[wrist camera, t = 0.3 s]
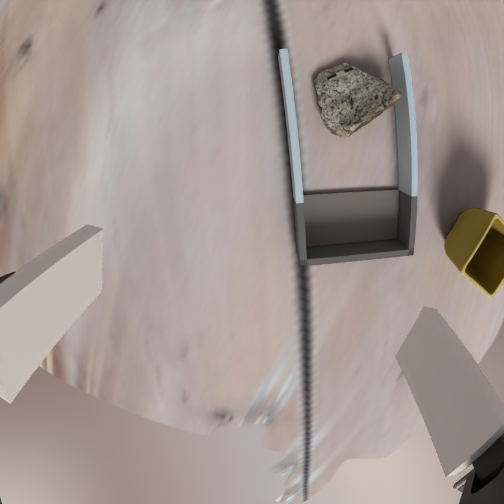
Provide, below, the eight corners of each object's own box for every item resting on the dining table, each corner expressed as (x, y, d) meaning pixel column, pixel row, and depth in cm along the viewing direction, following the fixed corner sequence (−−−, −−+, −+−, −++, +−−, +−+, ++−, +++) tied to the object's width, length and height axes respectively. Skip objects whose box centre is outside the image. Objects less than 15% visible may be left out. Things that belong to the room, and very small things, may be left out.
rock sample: (347, 30, 24) (390, 76, 21) (379, 63, 29) (417, 110, 27) (284, 85, 31) (311, 137, 28) (322, 108, 36) (349, 157, 33)
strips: (278, 57, 29) (279, 49, 26) (394, 59, 28) (407, 53, 24) (293, 195, 36) (296, 203, 32) (403, 189, 35) (417, 196, 31)
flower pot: (428, 244, 37) (460, 272, 29) (458, 194, 34) (497, 212, 26) (460, 270, 39) (491, 299, 30) (489, 225, 35) (524, 246, 27)
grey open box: (293, 195, 36) (296, 203, 32) (403, 189, 35) (417, 196, 31) (297, 252, 39) (300, 266, 35) (401, 243, 37) (413, 255, 34)
